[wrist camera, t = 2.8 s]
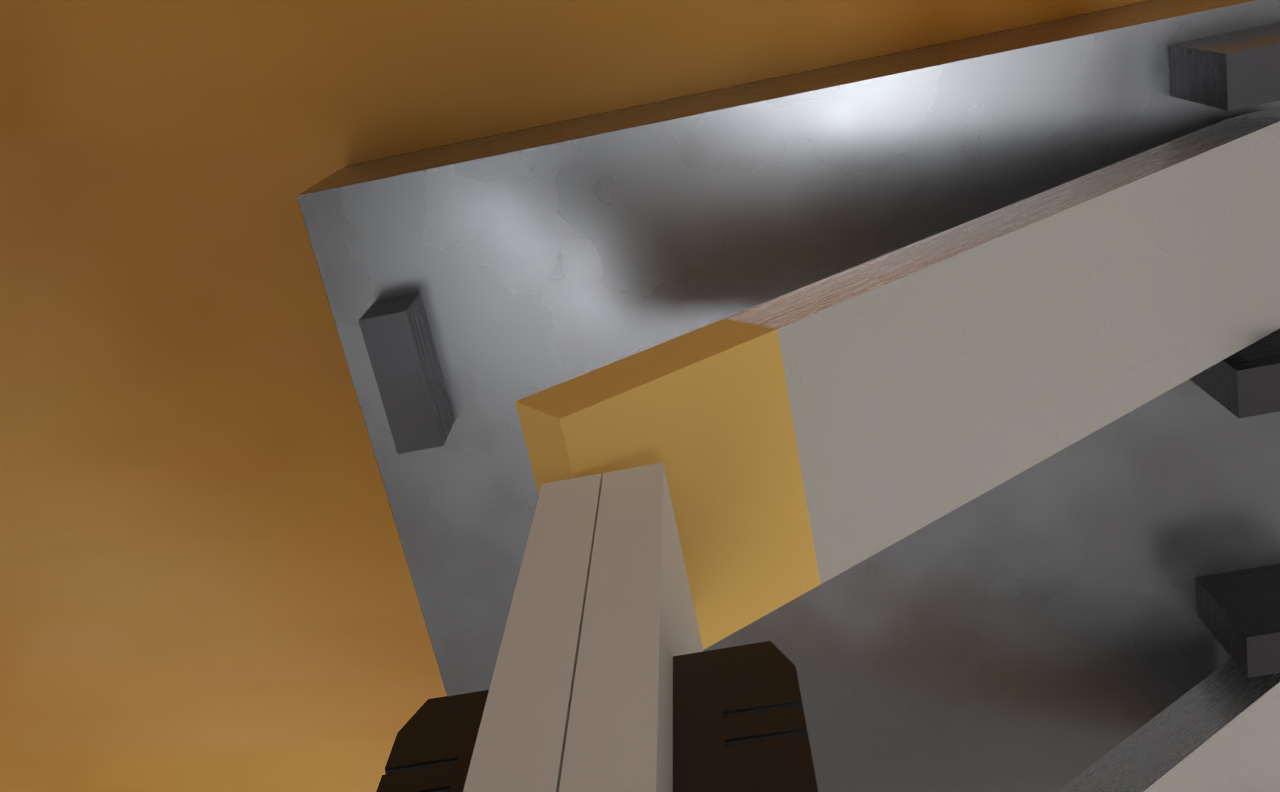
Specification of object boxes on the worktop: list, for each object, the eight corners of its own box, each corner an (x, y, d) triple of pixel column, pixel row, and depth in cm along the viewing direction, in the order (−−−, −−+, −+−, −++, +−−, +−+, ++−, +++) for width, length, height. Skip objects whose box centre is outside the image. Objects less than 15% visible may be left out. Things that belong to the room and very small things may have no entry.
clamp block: (346, 165, 28) (255, 221, 22) (1286, -28, 26) (1476, -26, 20) (535, 831, 35) (507, 1018, 29) (1300, 717, 33) (1446, 890, 27)
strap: (1257, 103, 24) (1339, 100, 22) (1262, 292, 25) (1340, 301, 24) (508, 399, 16) (567, 422, 14) (573, 655, 17) (633, 698, 16)
